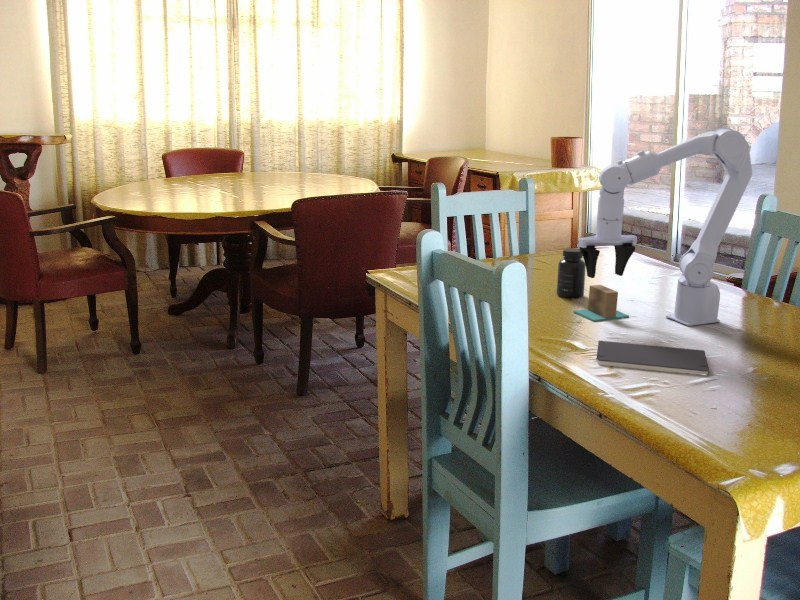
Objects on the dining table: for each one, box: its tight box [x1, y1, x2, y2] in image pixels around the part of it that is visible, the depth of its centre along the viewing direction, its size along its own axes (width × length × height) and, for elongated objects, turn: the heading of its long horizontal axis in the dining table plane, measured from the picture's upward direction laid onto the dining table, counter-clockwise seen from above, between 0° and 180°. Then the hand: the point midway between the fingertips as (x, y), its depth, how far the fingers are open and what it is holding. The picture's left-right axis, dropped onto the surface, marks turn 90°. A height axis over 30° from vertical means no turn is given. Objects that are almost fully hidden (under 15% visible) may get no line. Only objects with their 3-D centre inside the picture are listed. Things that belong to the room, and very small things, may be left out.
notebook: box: [595, 340, 710, 375], centre depth 173 cm, size 13×2×21 cm
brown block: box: [587, 284, 619, 318], centre depth 202 cm, size 7×3×6 cm, turn 22°
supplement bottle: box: [556, 247, 586, 300], centre depth 218 cm, size 7×7×12 cm
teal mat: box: [573, 308, 630, 322], centre depth 203 cm, size 10×8×1 cm
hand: (604, 275), depth 201 cm, fingers open, 7 cm apart
